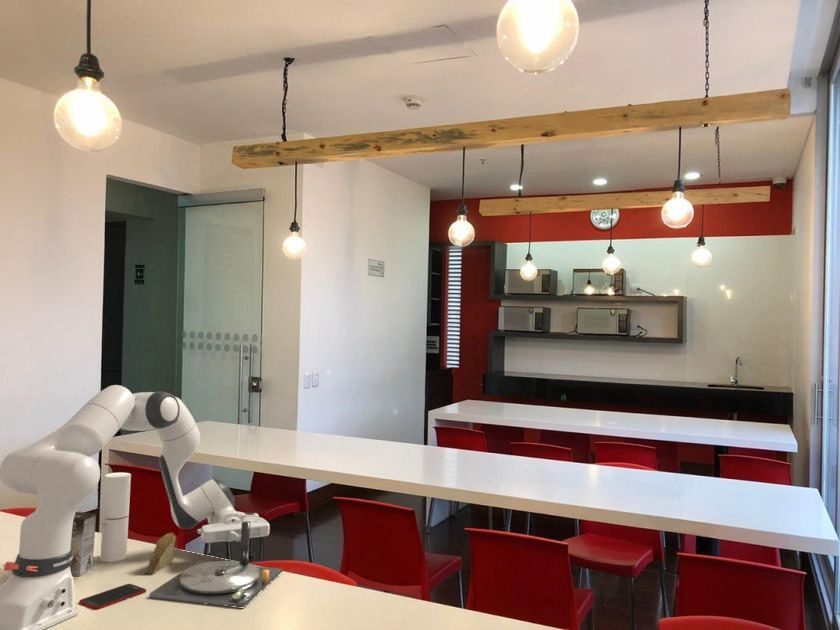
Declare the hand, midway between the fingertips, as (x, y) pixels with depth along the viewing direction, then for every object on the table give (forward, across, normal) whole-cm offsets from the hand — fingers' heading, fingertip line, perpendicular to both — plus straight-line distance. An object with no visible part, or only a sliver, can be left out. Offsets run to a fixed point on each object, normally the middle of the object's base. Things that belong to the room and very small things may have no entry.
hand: (242, 538), depth 194 cm
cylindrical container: (-24, -32, +9) cm, 41 cm away
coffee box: (-17, -43, +9) cm, 47 cm away
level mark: (+16, +3, +8) cm, 18 cm away
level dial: (+10, -8, +8) cm, 15 cm away
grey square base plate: (+10, -8, +9) cm, 16 cm away
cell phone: (+7, -35, +10) cm, 37 cm away
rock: (-10, -22, +9) cm, 26 cm away
